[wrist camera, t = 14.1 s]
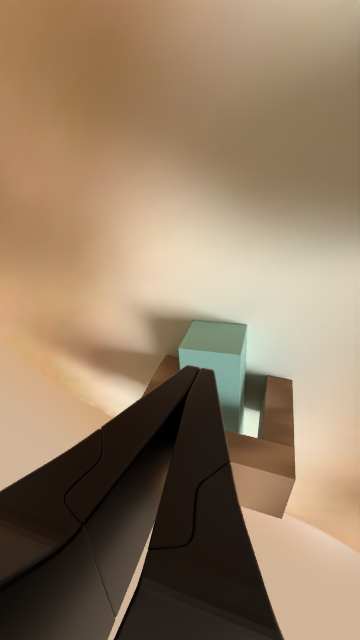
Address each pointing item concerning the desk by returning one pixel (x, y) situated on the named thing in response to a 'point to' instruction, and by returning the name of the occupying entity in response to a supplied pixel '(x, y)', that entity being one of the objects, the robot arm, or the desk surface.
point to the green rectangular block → (220, 363)
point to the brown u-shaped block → (258, 447)
